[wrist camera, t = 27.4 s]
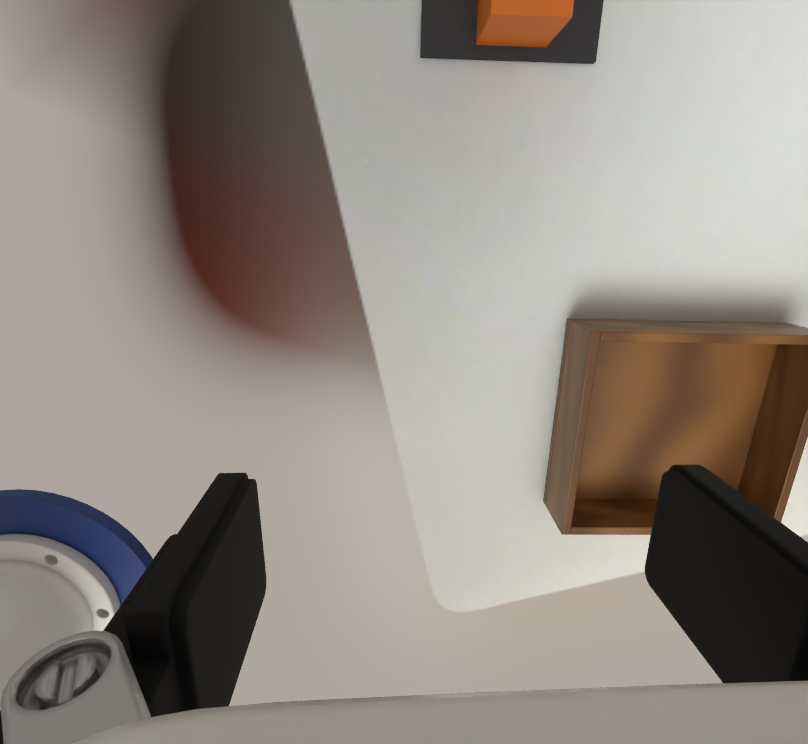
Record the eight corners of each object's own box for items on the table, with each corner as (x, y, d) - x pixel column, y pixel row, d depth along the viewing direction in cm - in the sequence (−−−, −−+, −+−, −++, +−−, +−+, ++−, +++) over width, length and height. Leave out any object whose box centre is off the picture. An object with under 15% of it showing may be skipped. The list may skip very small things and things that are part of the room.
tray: (543, 501, 36) (561, 534, 32) (566, 318, 31) (591, 331, 27) (736, 502, 36) (777, 535, 32) (785, 322, 32) (839, 335, 28)
